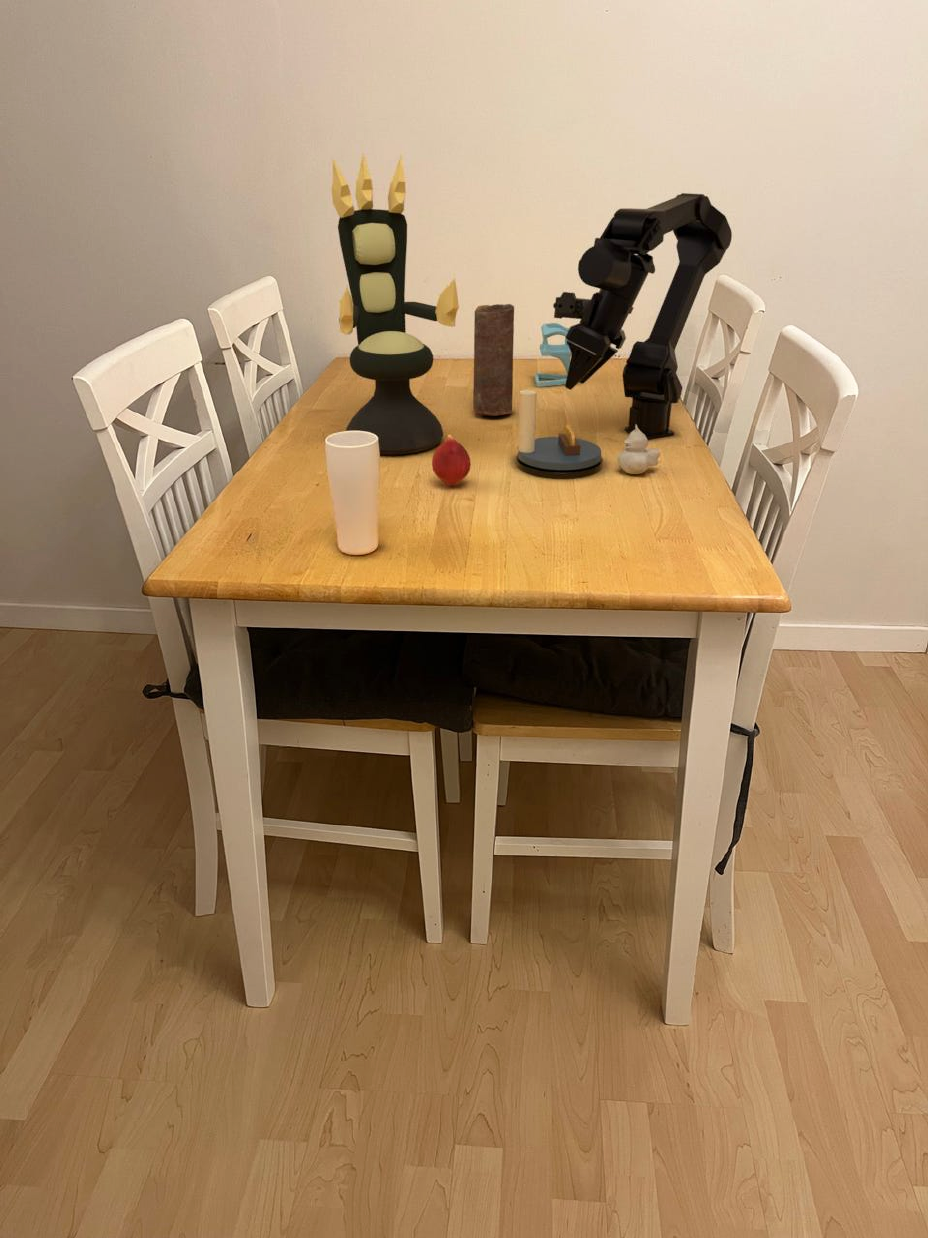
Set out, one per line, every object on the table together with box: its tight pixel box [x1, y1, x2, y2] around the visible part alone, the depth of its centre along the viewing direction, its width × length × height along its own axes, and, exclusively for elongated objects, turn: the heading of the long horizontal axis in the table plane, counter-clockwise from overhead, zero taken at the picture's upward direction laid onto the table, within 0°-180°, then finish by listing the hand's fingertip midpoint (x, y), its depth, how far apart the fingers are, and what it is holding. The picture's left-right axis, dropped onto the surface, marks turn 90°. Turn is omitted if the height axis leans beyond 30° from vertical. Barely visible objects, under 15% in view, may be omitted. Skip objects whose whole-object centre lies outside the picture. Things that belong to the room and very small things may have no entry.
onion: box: [431, 434, 471, 487], centre depth 146 cm, size 6×6×8 cm
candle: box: [472, 303, 515, 417], centre depth 176 cm, size 8×7×20 cm
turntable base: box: [515, 454, 604, 480], centre depth 156 cm, size 14×14×1 cm
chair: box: [534, 322, 571, 388], centre depth 199 cm, size 8×8×12 cm
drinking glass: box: [324, 430, 381, 556], centre depth 123 cm, size 7×7×15 cm
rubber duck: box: [617, 425, 661, 475], centre depth 151 cm, size 5×7×8 cm
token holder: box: [517, 389, 602, 470], centre depth 153 cm, size 13×13×11 cm
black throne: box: [330, 152, 460, 456], centre depth 157 cm, size 19×22×45 cm
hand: (574, 385), depth 157 cm, fingers open, 9 cm apart
